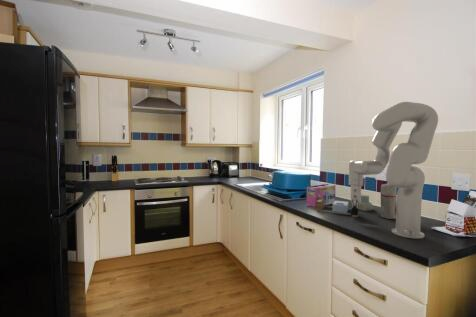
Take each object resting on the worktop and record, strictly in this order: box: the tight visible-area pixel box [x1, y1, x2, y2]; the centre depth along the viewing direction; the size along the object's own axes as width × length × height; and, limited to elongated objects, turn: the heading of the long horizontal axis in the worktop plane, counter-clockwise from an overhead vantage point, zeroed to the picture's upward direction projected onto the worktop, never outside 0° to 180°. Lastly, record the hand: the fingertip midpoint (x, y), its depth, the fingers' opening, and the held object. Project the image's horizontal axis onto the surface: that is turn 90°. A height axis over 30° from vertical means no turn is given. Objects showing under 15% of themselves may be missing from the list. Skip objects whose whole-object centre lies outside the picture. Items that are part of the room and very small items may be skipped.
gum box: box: [306, 183, 337, 208], centre depth 177 cm, size 24×8×14 cm, turn 126°
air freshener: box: [358, 193, 374, 212], centre depth 162 cm, size 11×8×10 cm
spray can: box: [380, 182, 398, 220], centre depth 146 cm, size 8×8×20 cm
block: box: [331, 200, 349, 213], centre depth 156 cm, size 12×8×5 cm, turn 153°
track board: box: [321, 205, 352, 216], centre depth 158 cm, size 15×19×2 cm
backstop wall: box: [315, 197, 325, 213], centre depth 161 cm, size 15×2×6 cm, turn 153°
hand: (354, 213), depth 144 cm, fingers open, 7 cm apart
